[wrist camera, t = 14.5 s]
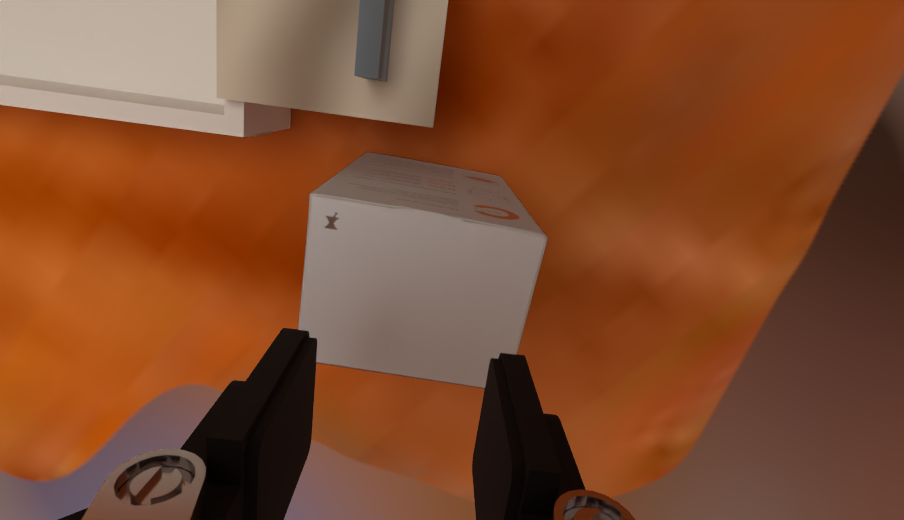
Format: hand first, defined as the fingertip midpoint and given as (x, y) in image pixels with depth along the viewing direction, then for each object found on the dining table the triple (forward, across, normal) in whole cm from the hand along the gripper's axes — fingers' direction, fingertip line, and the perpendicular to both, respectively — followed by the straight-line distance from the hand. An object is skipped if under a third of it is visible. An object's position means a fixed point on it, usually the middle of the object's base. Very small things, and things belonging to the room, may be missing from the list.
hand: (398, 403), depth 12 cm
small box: (+20, 0, 0) cm, 20 cm away
